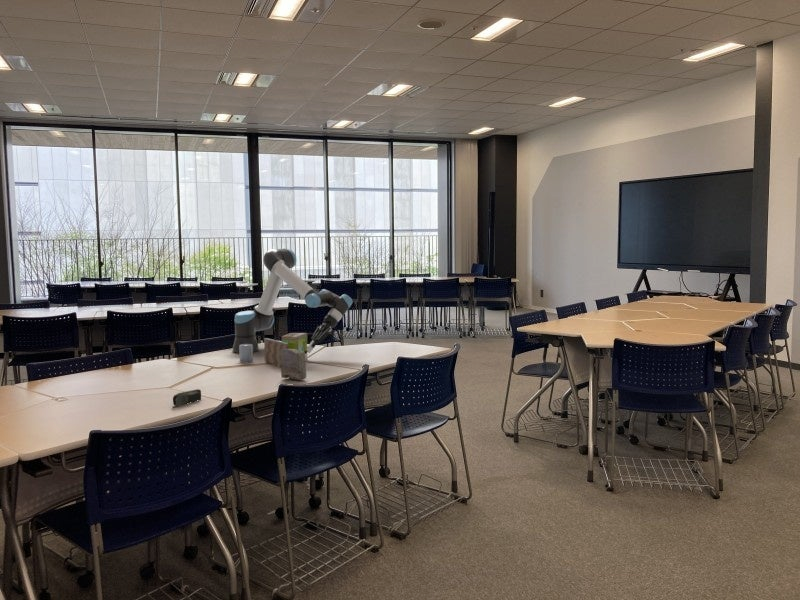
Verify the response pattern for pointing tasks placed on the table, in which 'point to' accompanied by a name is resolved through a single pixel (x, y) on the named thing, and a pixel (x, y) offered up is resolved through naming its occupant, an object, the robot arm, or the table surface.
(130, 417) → the table surface
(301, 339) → the tea box
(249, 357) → the grey capsule cylinder
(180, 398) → the dark grey elongated bar
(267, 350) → the board
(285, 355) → the geological specimen
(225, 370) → the table surface
